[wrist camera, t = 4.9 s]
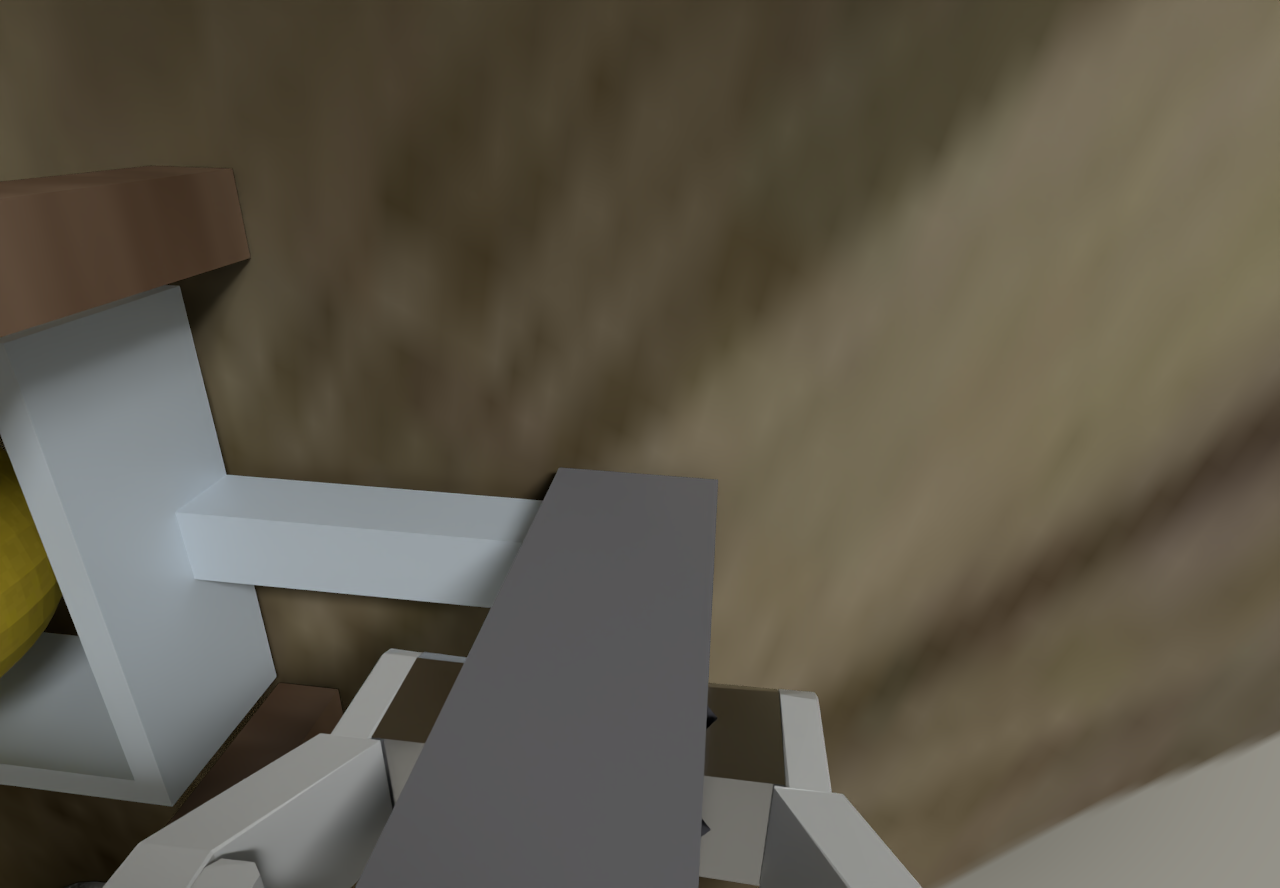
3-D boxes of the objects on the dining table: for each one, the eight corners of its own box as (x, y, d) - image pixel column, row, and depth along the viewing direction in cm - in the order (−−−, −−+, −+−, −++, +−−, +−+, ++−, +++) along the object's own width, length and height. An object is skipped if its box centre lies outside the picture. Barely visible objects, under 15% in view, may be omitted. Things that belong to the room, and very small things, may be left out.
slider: (-75, 637, 18) (-743, 1078, 10) (-265, 261, 14) (-1639, 478, 6) (698, 723, 16) (660, 1353, 8) (731, 315, 12) (719, 742, 4)
